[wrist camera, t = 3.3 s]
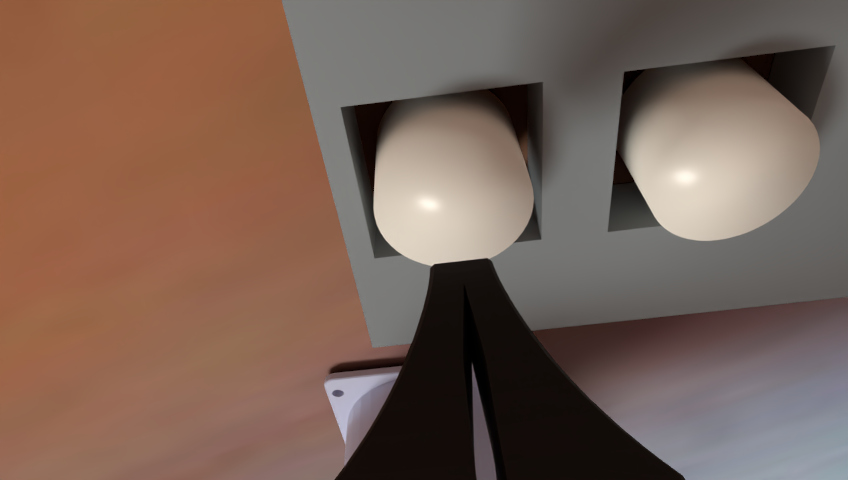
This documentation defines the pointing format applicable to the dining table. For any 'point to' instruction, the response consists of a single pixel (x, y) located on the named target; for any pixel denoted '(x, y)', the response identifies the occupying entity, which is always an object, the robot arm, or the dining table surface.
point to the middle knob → (714, 147)
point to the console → (581, 147)
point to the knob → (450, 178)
